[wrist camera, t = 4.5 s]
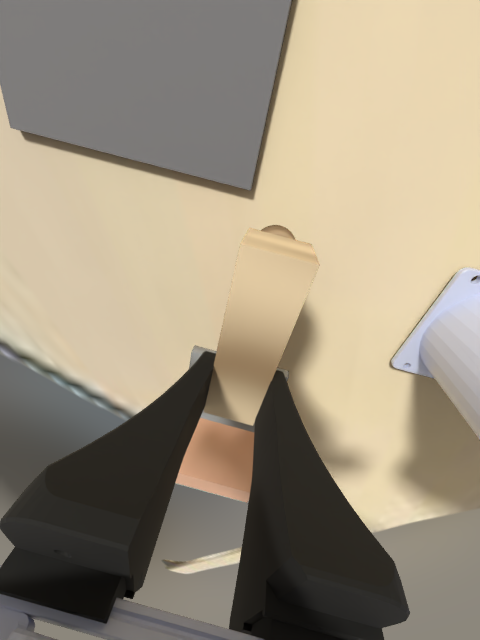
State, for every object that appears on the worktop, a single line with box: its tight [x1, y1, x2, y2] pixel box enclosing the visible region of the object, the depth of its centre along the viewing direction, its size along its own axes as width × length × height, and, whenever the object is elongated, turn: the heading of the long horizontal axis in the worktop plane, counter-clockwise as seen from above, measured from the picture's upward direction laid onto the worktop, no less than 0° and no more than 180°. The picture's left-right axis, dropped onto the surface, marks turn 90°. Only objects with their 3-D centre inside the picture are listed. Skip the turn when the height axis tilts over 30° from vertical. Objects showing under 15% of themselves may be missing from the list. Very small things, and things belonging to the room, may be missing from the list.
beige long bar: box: [189, 225, 320, 432], centre depth 13 cm, size 14×6×4 cm, turn 167°
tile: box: [175, 418, 254, 503], centre depth 22 cm, size 7×2×7 cm, turn 77°
